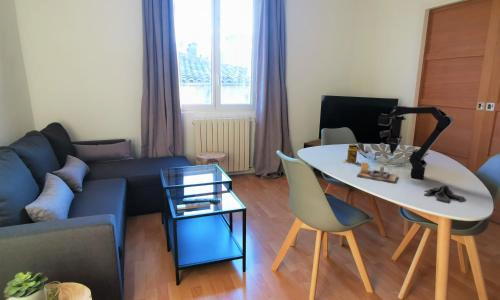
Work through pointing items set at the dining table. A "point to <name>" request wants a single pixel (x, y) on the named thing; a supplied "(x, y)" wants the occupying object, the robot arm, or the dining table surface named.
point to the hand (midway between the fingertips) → (392, 152)
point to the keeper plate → (390, 177)
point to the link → (365, 170)
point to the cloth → (443, 194)
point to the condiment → (351, 154)
